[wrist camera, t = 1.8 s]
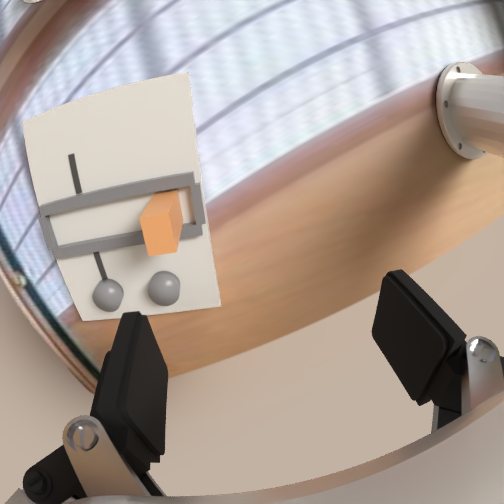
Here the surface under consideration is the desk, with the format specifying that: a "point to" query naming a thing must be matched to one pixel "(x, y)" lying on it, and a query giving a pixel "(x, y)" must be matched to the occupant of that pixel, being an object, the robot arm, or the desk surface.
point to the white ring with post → (31, 1)
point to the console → (123, 198)
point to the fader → (162, 223)
